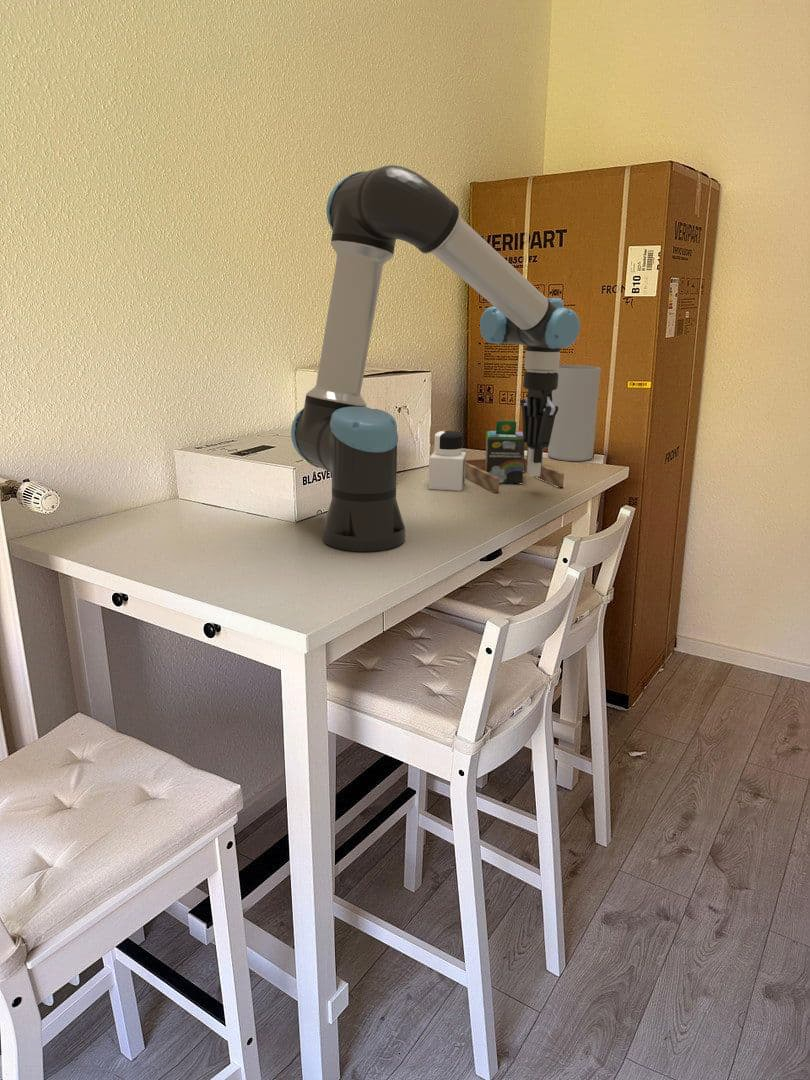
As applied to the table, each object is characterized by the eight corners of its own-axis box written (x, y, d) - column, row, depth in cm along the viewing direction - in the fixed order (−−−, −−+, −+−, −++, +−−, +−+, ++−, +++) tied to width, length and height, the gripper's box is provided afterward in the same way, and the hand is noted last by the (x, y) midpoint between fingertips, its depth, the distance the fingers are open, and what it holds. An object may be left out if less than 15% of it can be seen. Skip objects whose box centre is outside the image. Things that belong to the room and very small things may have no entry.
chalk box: (520, 476, 196) (524, 417, 191) (523, 485, 187) (527, 423, 182) (483, 475, 196) (486, 416, 192) (484, 483, 187) (488, 422, 183)
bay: (562, 488, 184) (564, 473, 183) (494, 493, 178) (495, 478, 177) (520, 469, 203) (521, 456, 202) (457, 473, 197) (458, 460, 196)
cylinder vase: (543, 453, 225) (549, 364, 218) (585, 453, 226) (593, 365, 219) (553, 461, 214) (560, 369, 206) (598, 462, 214) (607, 369, 207)
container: (465, 483, 187) (467, 430, 183) (461, 491, 179) (463, 435, 176) (433, 482, 188) (434, 428, 184) (428, 489, 181) (429, 433, 177)
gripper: (572, 373, 167) (562, 481, 174) (541, 368, 178) (533, 469, 185) (541, 373, 164) (532, 483, 171) (512, 368, 176) (505, 470, 183)
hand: (533, 475), depth 178 cm, fingers closed
